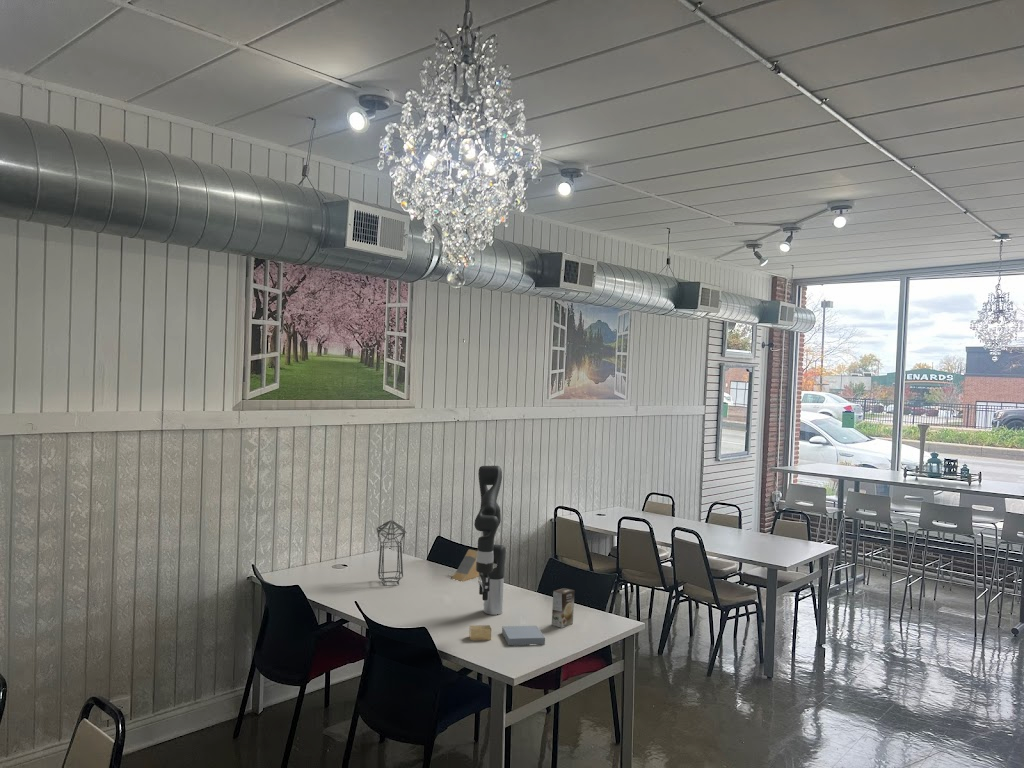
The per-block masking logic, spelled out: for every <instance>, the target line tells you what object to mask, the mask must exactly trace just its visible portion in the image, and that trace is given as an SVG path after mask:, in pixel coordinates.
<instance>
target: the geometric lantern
mask: <svg viewBox="0 0 1024 768" xmlns="http://www.w3.org/2000/svg"><path fill="white" fill-rule="evenodd" d="M387 527H388V528H387ZM404 528H405V527H404V526H403V525H401V524H399V523H397V522H395V520H393V519H391V520H388V521H386V522H384V523H383V524H381V525H379V526H378V527H376V528H375V529H376V534H377V537H378V539H379V540H378V541H379V545H380V546H379V556H378V557H379V558H378V570H377V575H378V579H379V580H380V581H381V582H382V581H383V582H382V583H384V584H383V586H386V583H395V582H396V583H397V584H399V585H400V580H401V579H403V578H404V569H403V567H404V566H403V565H404V564H403V550H402V549H403V547H402V546H403V540H404V538H405V536H406V533H407V531H406V530H405V529H404ZM395 529H396V530H395ZM386 530H387V531H386ZM391 530H392V532H390V531H391ZM398 531H400V532H398ZM397 532H398V533H397ZM380 535H381V536H382V537H384V540H383V541H382V539H381V536H380ZM385 535H386V536H385ZM390 536H393V538H390ZM400 536H401V538H400V541H399V540H398V537H400ZM386 539H387V541H385V540H386ZM390 540H394V542H395V543H396V546H395V545H394V546H390V545H389V546H388V548H397V560H396V561H397V563H396V564H397V565H396V570H393V571H391V570H390V571H385V562H384V561H385V559H384V558H385V547H386V545H387V543H389V542H390ZM387 573H395V576H389V577H387V576H386V577H385V576H384V575H385V574H387ZM392 580H397V581H392Z"/></svg>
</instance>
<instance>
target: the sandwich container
mask: <svg viewBox="0 0 1024 768" xmlns="http://www.w3.org/2000/svg"><path fill="white" fill-rule="evenodd" d="M476 560H477V550H476V549H475V550H474V549H468V550H467V551H466V553H465V555H464V557H463V559H462V560H461V562H460V564H459V566H458V567H457V570H456V571H455V573H454V574H453V576H452V578H451V580H453V579H455V580H454V581H456V580H458V581H457V582H461V581H462V583H464V582H467V581H471V580H474V579H476V577H477V578H479V572H477V571H476ZM470 579H471V580H470Z"/></svg>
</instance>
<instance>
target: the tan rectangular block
mask: <svg viewBox="0 0 1024 768" xmlns="http://www.w3.org/2000/svg"><path fill="white" fill-rule="evenodd" d="M468 633H469V635H468V638H469V637H470V638H469V640H470V639H471V640H473V641H492V627H491V625H489V624H487V625H486V624H483V625H469V631H468ZM471 640H470V641H471Z"/></svg>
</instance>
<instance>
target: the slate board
mask: <svg viewBox="0 0 1024 768" xmlns="http://www.w3.org/2000/svg"><path fill="white" fill-rule="evenodd" d="M502 633H503V634H502ZM501 634H502V636H503V635H504V636H503V637H505V638H504V640H505V641H506V642H507V643H506V644H507V645H508V644H509V645H514V646H529V645H528V644H545V645H546V637H545V636H544V634H543V633H542V631H541V630H540V629H539V627H538V626H537V625H513V626H512V625H508V626H507V625H505V626H504V625H503V626H502V627H501ZM526 644H527V645H526ZM509 645H508V646H509Z"/></svg>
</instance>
